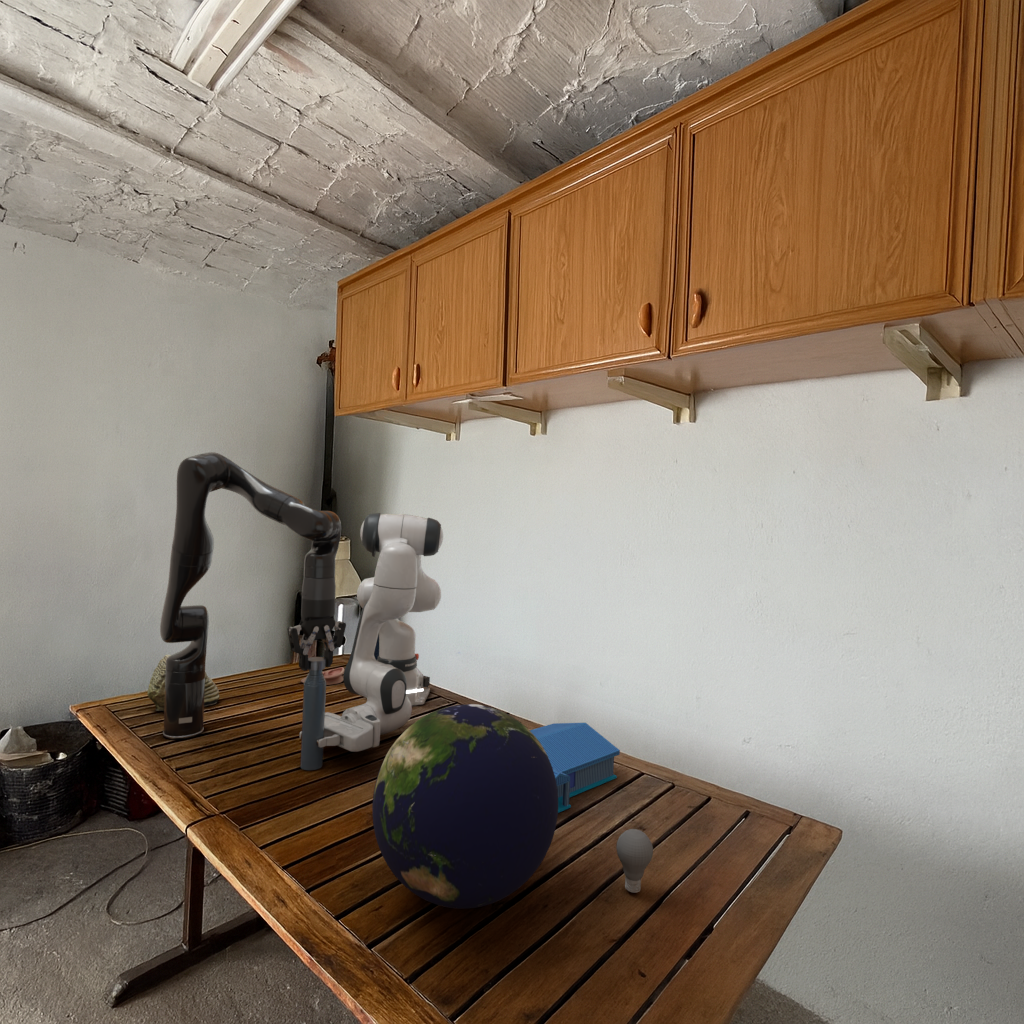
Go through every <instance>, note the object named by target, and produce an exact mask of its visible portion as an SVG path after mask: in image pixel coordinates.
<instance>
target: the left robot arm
mask: <svg viewBox="0 0 1024 1024" xmlns="http://www.w3.org/2000/svg"><path fill="white" fill-rule="evenodd" d="M221 489H222V490H226V491H231V492H233V493H235V494H238V495H240V496H241V497H242V498H244V499H245V500H246V501H247V502H248V503H249V504H250V505H251V506H252V508H253V509H254V510H255V511H256V512H258V514H261V515H262V516H264V517H265V518H268V519H270V520H272V521H274V522H276V523H278V524H281V525H283V526H285V527H287V528H288V529H290V530H291V531H292V532H294V533H295V534H296V535H298V536H300V537H301V538H303V539H306V540H309V541H311V549H310V550H309V551H308V552H307V553H306V554H305V555H304V562H303V578H302V579H303V580H302V586H301V607H300V608H301V609H300V617H301V619H300V622H299V624H298V625H295V626H290V625H289V626H288V627H287V636H288V641H289V647H290V650H291V652H293V653H295V654H298V667H299V669H300V670H301V671H304V672H306V671H307V672H308V671H309V670H308V658H309V654H308V653H309V651H310V648H311V647H312V645H313V644H314V642H315V641H318V640H320V641H322V643H323V646H324V651H323V658H325V660H326V663H325V668H330V667H332V665H333V663H334V651H335V650H336V649H339V648H341V647H342V645H343V640H344V636H345V632H346V628H347V623H346V622H344V621H341V620H338V621H336V620H335V614H336V611H335V610H336V590H337V589H336V588H337V587H336V585H337V584H336V558H337V554H338V551H339V545H340V542H341V536H342V522H341V520H340V517H339V515H337V513H335V512H334V511H331V510H317V509H314V508H312V507H310V506H307V505H306V504H305V503H304V501H302V500H301V499H300V498H298V497H296V496H294V495H291V494H289V493H288V492H286V491H283V490H281V489H279V488H276V487H274V486H272V485H270V484H268V483H266V482H265V481H263V480H261V479H260V478H258V477H257V476H255V475H253V474H252V473H250V472H249V471H247V470H246V469H244V468H242V467H241V466H240V465H238V464H237V463H235V462H234V461H232V460H231V459H229V458H228V457H226V456H224V455H223V454H220V453H218V452H214V451H209V452H208V451H207V452H203V453H200V454H199V453H198V454H195V455H191V456H188V457H185V458H184V459H183V460H182V461H181V462H180V464H179V465H178V468H177V472H176V508H175V509H176V510H175V511H176V512H175V520H174V530H173V537H172V538H173V539H172V544H171V552H170V559H169V571H168V579H167V581H168V582H167V588H166V593H165V598H164V603H163V608H162V611H161V618H160V623H159V634H160V638H161V640H162V641H163V642H164V643H167V644H178V643H189V642H190V643H189V644H188V645H187V646H186V647H185V648H183V649H182V650H179V651H177V652H175V653H173V654H170V655H171V656H169V657H168V658H167V660H166V674H165V705H164V710H163V731H162V737H164V738H166V739H169V740H185V739H190V738H191V739H192V738H194V737H197V736H199V735H202V734H203V732H204V730H205V729H204V722H205V721H204V718H205V706H204V693H205V672H206V664H207V663H206V660H207V648H208V636H209V635H208V634H209V625H210V617H209V611H208V609H207V607H206V606H205V605H203V604H198V605H197V604H195V605H193V604H192V605H182V604H183V603H184V600H185V598H186V597H187V595H188V593H189V592H190V591H191V590H192V589H193V588H194V587H195V586H196V585H197V584H198V583H199V581H201V579H202V578H203V577H204V576H205V575H206V574H207V573H208V571H209V570H210V568H211V565H212V562H213V554H214V550H215V549H214V547H215V539H214V535H213V533H212V531H211V528H210V526H209V524H208V522H207V519H206V507H207V501H208V497H209V494H210V493H211V492H215V491H218V490H221ZM333 629H334V633H333V635H332V633H331V632H332V631H333ZM300 632H302V634H303V635H302V637H301V639H299V638H300V637H299V635H300V634H301V633H300Z"/></svg>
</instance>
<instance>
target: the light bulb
mask: <svg viewBox="0 0 1024 1024" xmlns="http://www.w3.org/2000/svg"><path fill="white" fill-rule="evenodd" d="M615 849H616V854H617V857H618V859H619V861H620V863H621V865H622V867H623V873H624V874H623V875H624V876H625V878H624V888H625V890H627V891H628V892H630V893H634V894H635V893H639V892H640V891H641V889H642V887H641V886H642V879H643V877H644V875H645V871H646V868H647V867H648V866H649V864H650V863H651V861H652V859H653V855H654V847H653V843H652V841H651V838H649V836H648V835H647V834H646V833H645V832H643V831H642V830H641V829H636V828H629V829H627V830H625V831H623V832H622V833H621V834H620V835H619V837H618V839H617V841H616V847H615Z"/></svg>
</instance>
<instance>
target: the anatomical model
mask: <svg viewBox="0 0 1024 1024" xmlns="http://www.w3.org/2000/svg"><path fill="white" fill-rule="evenodd" d="M344 670H345V668H344V667H341V666H340V667H336V668H332V669H328V670H325V671H322V673H323V675H324V677H325V680H326V686H329V685H336V684H341V683H342V682H344V680H343V675H344ZM306 678H307V676H305V677H303V678H302V679H300V682H301V683H303V684H304V681H305V680H306Z"/></svg>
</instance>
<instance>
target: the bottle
mask: <svg viewBox="0 0 1024 1024" xmlns="http://www.w3.org/2000/svg"><path fill="white" fill-rule="evenodd" d="M322 672H323V670H316V671H313V670H308V673H307V675H306V677H307V678H306V677H305V678H306V680H305V681H304V683H303V695H302V697H303V699H302V715H301V717H302V718H301V731H302V739H300V740H301V743H300V763H299V764H300V765H299V766H300V769H302V770H304V771H317V770H320V769H321V768H322V767H323V766H324V748H325V746H324V747H321V748H320V747H318V746H316V740H317V739H318V738H320V737H324V726H325V712H326V700H327V699H326V698H327V685H326V680H325V677H324V675H323V673H322Z"/></svg>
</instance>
